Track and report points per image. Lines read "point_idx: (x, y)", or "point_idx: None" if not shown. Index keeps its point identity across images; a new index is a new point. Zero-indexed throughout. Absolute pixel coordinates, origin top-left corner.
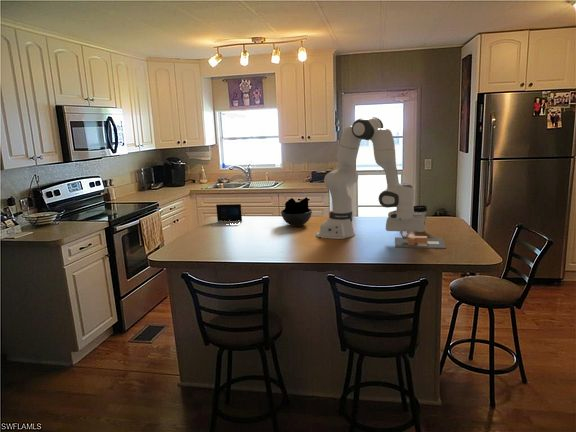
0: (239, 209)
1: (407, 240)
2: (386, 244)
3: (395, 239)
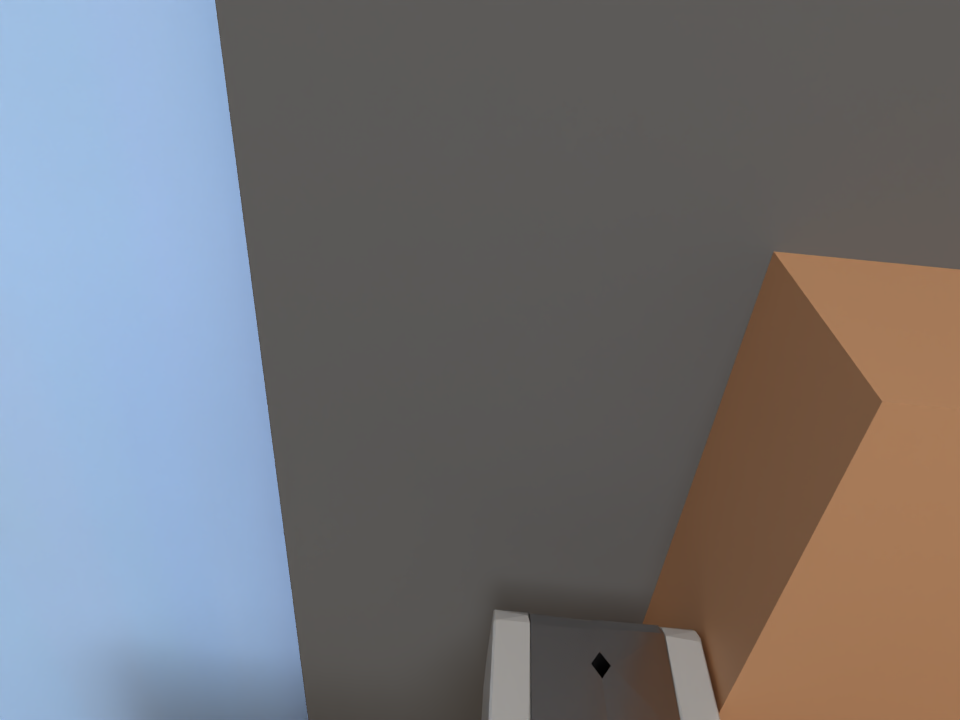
0: None
1: (692, 526)
2: (86, 593)
3: (267, 266)
